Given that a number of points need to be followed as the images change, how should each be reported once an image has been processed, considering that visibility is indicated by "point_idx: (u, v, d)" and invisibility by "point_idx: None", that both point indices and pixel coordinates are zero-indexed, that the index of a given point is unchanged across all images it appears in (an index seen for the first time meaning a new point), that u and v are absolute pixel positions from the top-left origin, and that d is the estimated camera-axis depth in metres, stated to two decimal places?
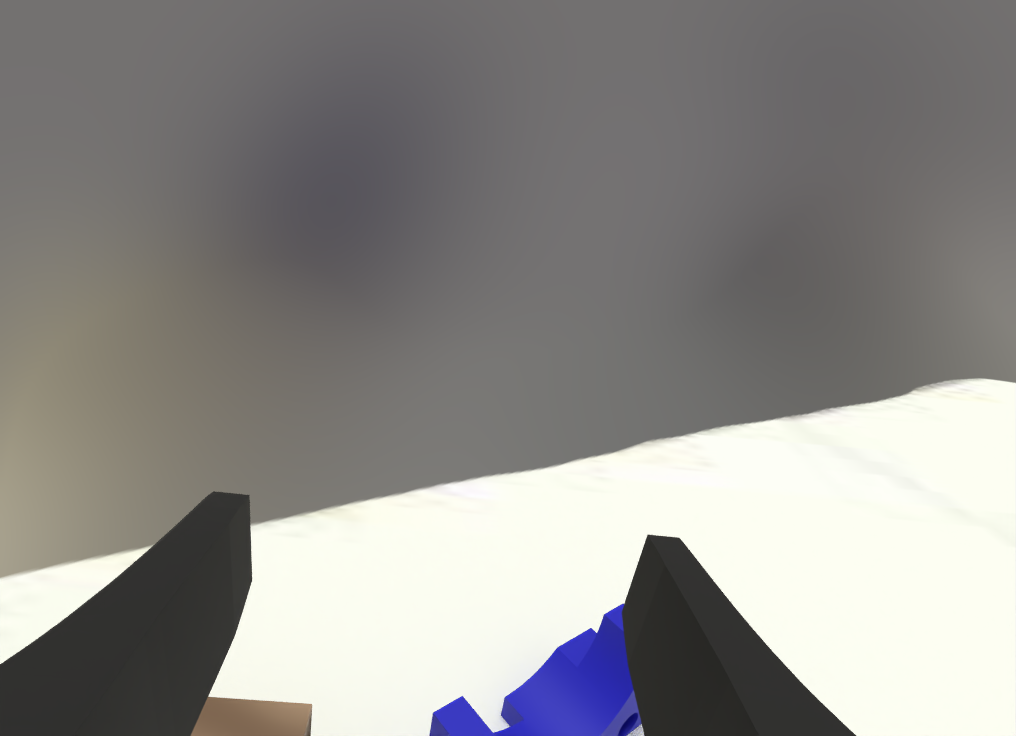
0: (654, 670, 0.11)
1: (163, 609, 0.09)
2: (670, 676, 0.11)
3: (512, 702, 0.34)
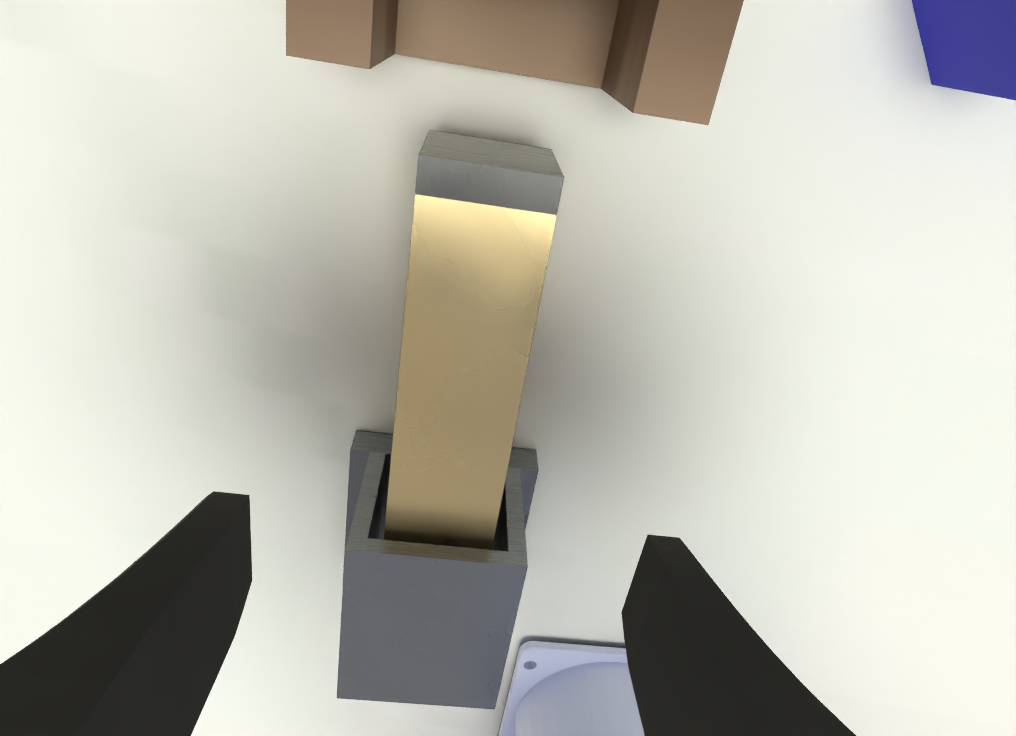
0: (654, 670, 0.11)
1: (163, 609, 0.09)
2: (670, 676, 0.11)
3: None
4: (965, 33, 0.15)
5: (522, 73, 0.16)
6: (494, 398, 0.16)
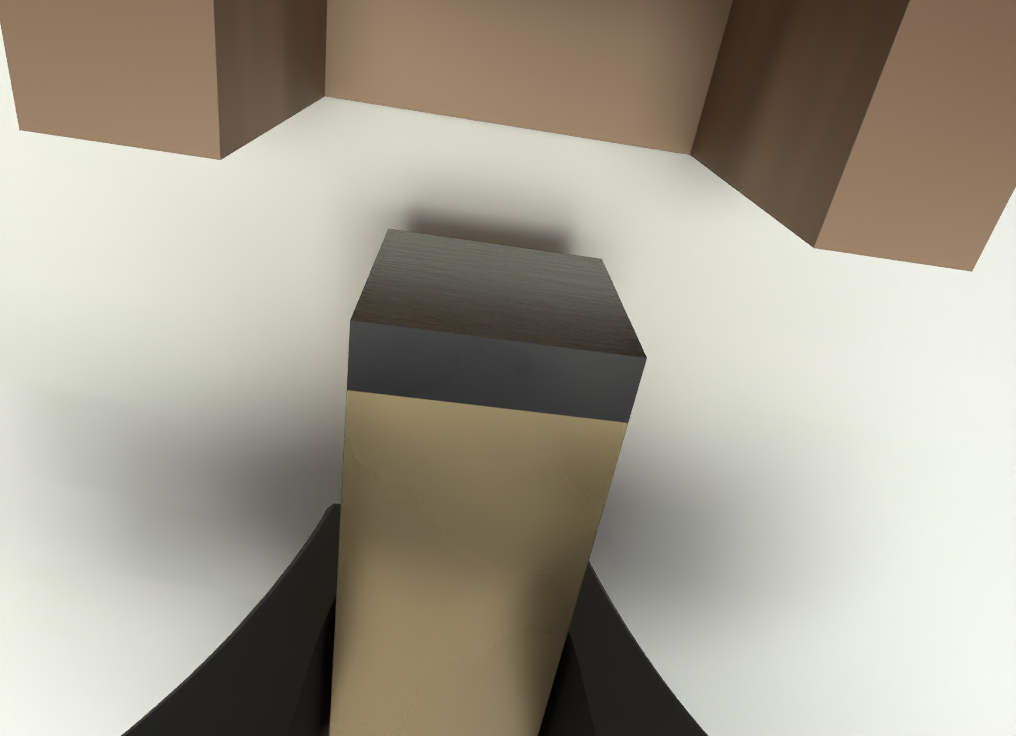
0: None
1: (322, 622, 0.09)
2: None
3: None
4: None
5: (553, 129, 0.09)
6: (502, 696, 0.09)
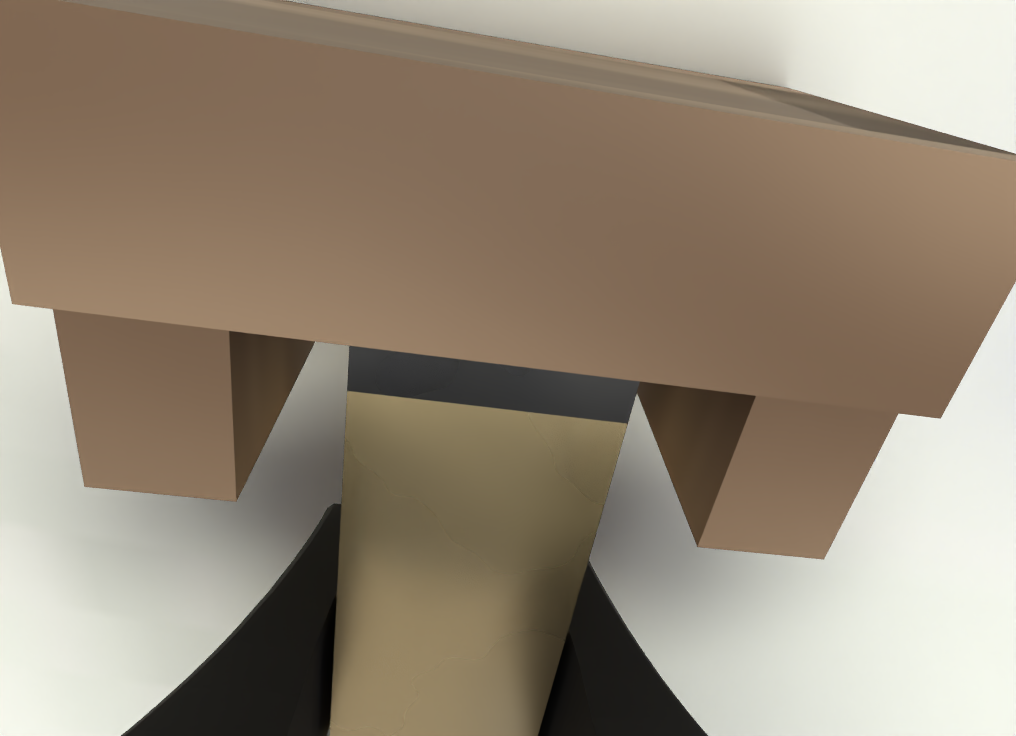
0: None
1: (322, 622, 0.09)
2: None
3: None
4: None
5: None
6: (502, 696, 0.09)
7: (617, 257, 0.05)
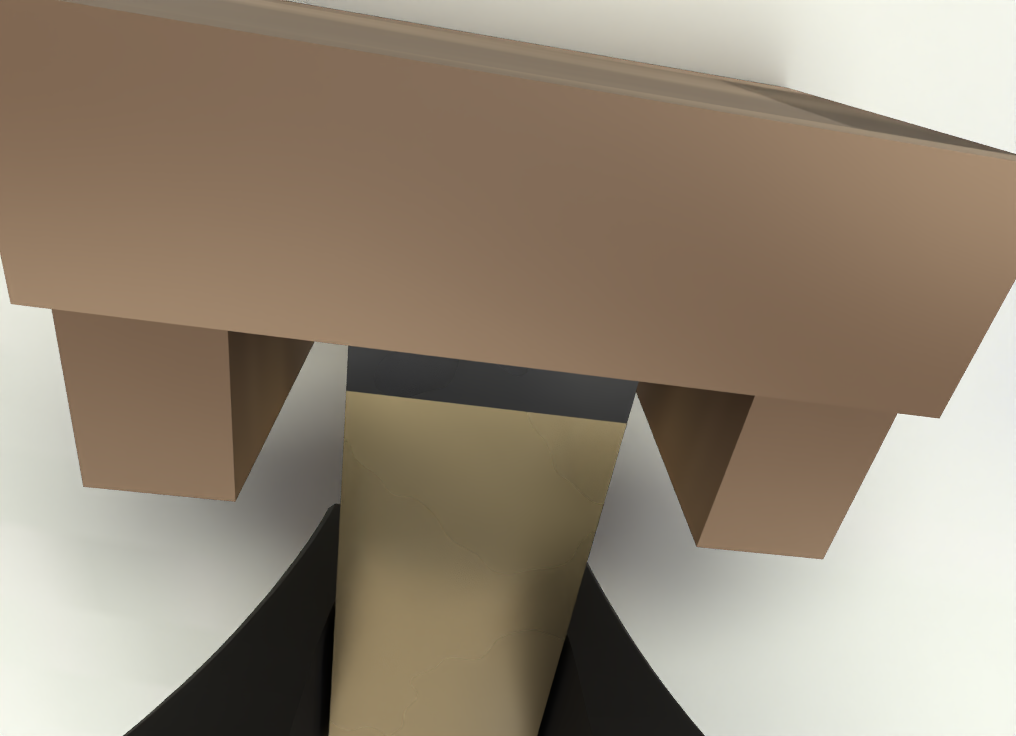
0: None
1: (324, 622, 0.09)
2: None
3: None
4: None
5: None
6: (501, 696, 0.09)
7: (616, 257, 0.05)
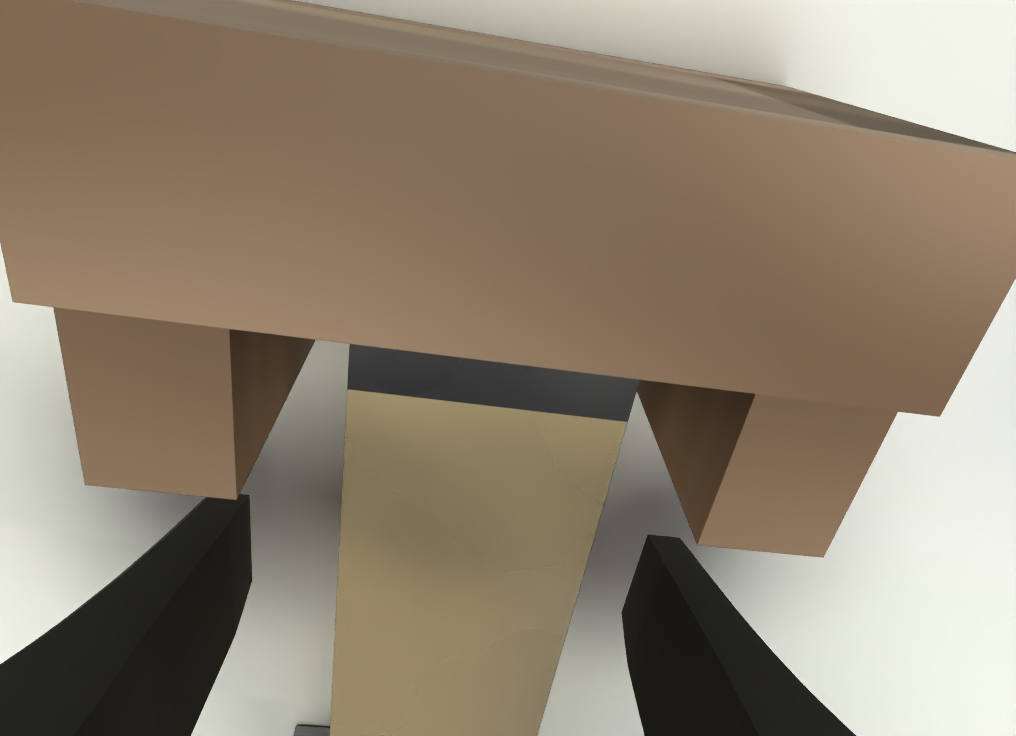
0: (654, 670, 0.11)
1: (163, 609, 0.09)
2: (670, 676, 0.11)
3: None
4: None
5: None
6: (502, 694, 0.09)
7: (617, 255, 0.05)
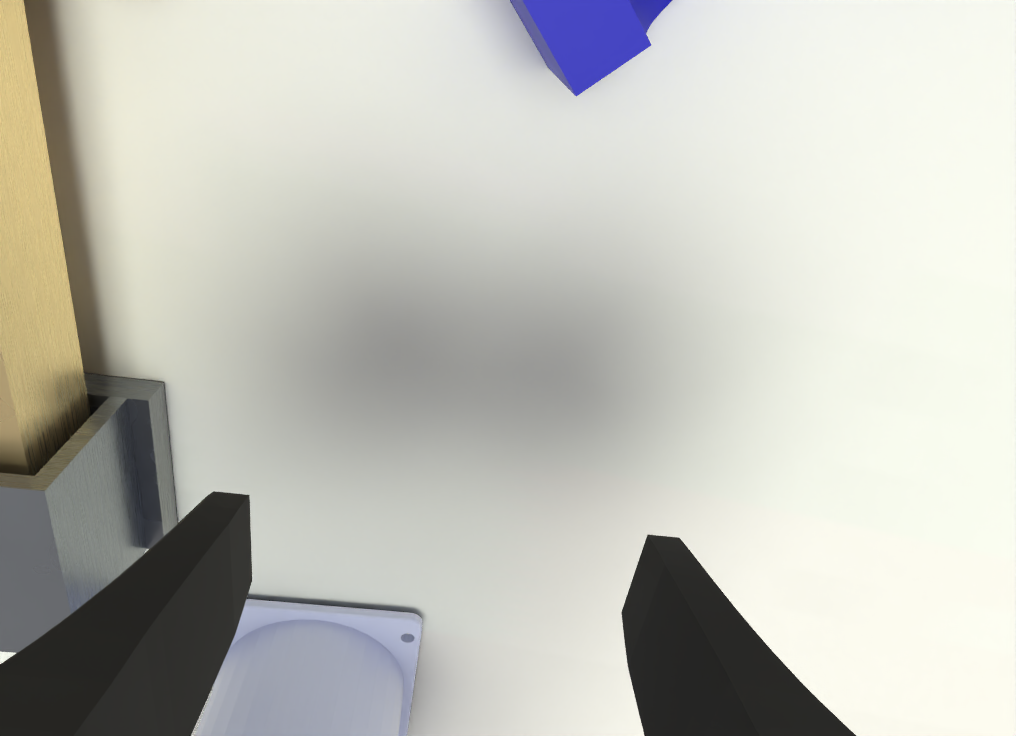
0: (654, 670, 0.11)
1: (163, 609, 0.09)
2: (670, 676, 0.11)
3: None
4: (521, 15, 0.15)
5: None
6: None
7: None
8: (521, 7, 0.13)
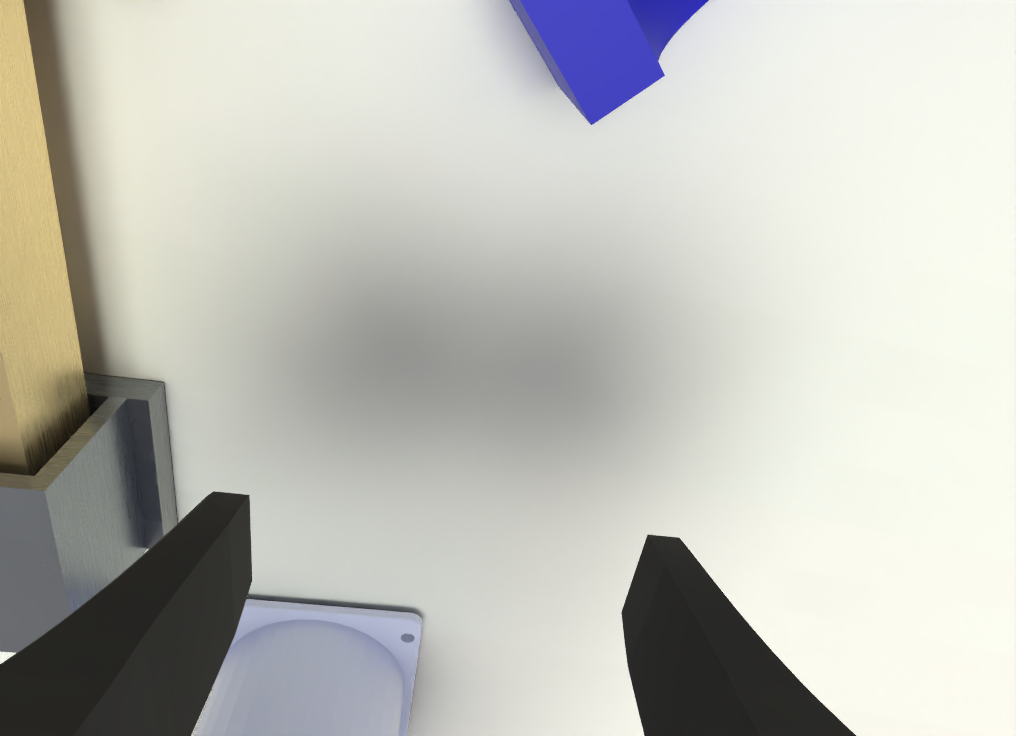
0: (654, 670, 0.11)
1: (163, 609, 0.09)
2: (670, 676, 0.11)
3: None
4: (534, 38, 0.15)
5: None
6: None
7: None
8: (536, 36, 0.13)
